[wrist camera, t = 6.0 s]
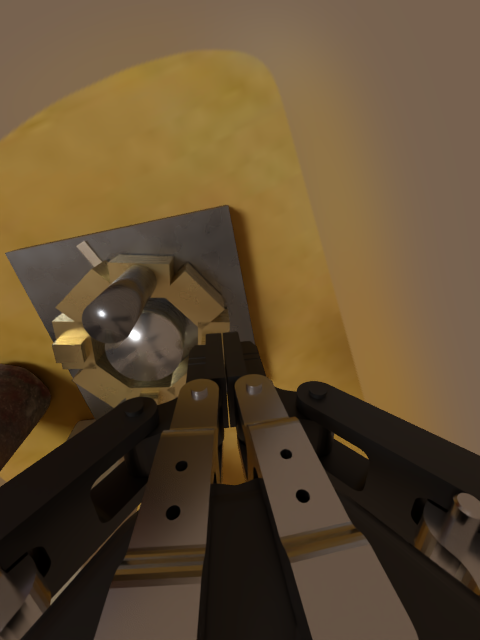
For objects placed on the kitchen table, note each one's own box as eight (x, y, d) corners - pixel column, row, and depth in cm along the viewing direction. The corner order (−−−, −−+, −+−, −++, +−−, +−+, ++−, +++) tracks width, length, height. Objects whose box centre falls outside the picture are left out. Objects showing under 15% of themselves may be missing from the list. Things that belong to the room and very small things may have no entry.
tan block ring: (229, 258, 24) (244, 299, 14) (224, 388, 29) (232, 482, 20) (58, 252, 22) (-54, 295, 13) (86, 391, 28) (23, 495, 18)
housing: (259, 373, 32) (270, 410, 26) (103, 408, 31) (81, 453, 26) (226, 204, 24) (232, 207, 19) (20, 248, 24) (-35, 264, 18)
